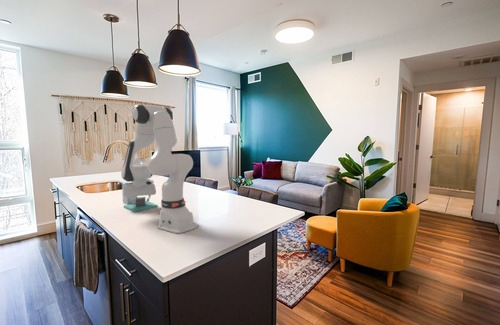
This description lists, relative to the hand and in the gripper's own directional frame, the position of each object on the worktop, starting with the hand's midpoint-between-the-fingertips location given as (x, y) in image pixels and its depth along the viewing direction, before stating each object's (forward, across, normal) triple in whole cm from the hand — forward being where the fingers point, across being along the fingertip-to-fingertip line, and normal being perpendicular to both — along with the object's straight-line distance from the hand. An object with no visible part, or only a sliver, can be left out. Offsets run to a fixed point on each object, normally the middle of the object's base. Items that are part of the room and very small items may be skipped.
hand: (140, 201), depth 160 cm
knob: (+2, 0, 0) cm, 2 cm away
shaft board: (+4, 0, 0) cm, 4 cm away
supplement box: (+4, -8, +15) cm, 18 cm away
